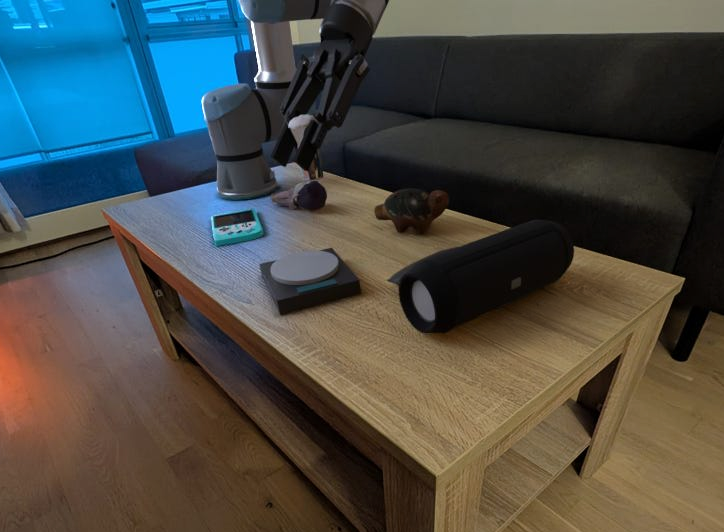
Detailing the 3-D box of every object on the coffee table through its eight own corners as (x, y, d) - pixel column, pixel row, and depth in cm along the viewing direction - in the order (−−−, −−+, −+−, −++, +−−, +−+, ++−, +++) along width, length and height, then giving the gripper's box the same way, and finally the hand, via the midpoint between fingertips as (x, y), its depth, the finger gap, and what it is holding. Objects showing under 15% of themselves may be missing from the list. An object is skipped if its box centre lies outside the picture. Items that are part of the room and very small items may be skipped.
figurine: (289, 192, 110) (337, 183, 102) (289, 219, 111) (337, 212, 103) (259, 182, 102) (308, 172, 94) (259, 211, 103) (308, 204, 95)
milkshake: (295, 177, 74) (281, 109, 68) (327, 173, 74) (316, 104, 68) (293, 184, 70) (279, 113, 64) (327, 180, 71) (316, 108, 65)
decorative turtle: (447, 239, 85) (445, 197, 80) (371, 241, 89) (364, 201, 84) (453, 218, 92) (452, 178, 87) (382, 220, 96) (377, 182, 91)
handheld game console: (214, 246, 89) (212, 240, 88) (211, 220, 101) (209, 214, 100) (264, 237, 91) (263, 231, 90) (255, 212, 103) (254, 207, 102)
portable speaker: (440, 353, 57) (442, 283, 51) (395, 320, 63) (392, 255, 57) (571, 290, 67) (586, 225, 61) (521, 267, 74) (530, 207, 68)
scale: (262, 277, 77) (257, 259, 75) (333, 260, 80) (331, 243, 78) (280, 315, 67) (275, 295, 65) (361, 294, 70) (359, 275, 68)
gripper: (408, 40, 66) (344, 185, 67) (326, 43, 75) (270, 170, 76) (383, -6, 60) (312, 155, 60) (296, 4, 69) (236, 143, 70)
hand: (289, 163), depth 68 cm, fingers closed on milkshake, 5 cm apart
